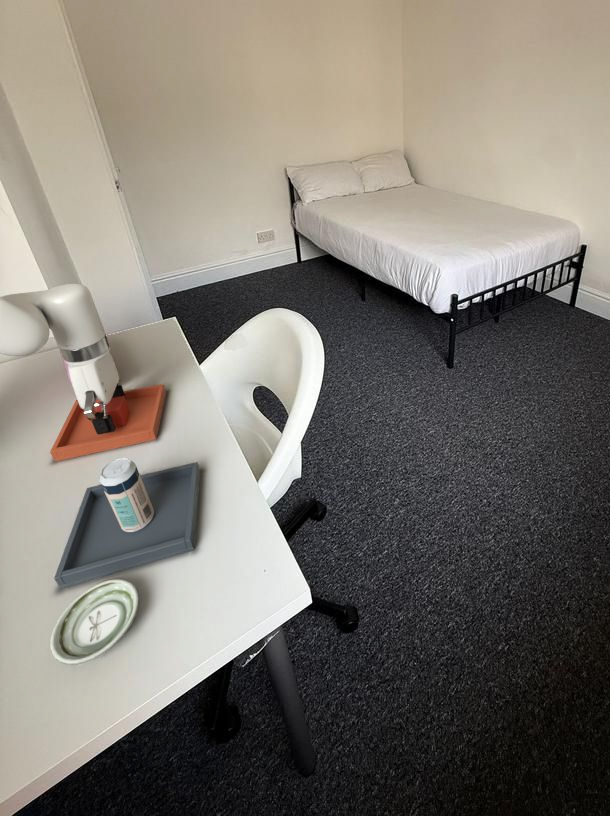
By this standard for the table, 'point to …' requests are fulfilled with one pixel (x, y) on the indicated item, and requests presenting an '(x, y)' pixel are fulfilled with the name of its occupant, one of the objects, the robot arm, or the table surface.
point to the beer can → (126, 494)
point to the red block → (117, 411)
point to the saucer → (94, 622)
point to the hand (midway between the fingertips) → (112, 416)
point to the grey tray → (119, 550)
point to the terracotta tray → (139, 428)
